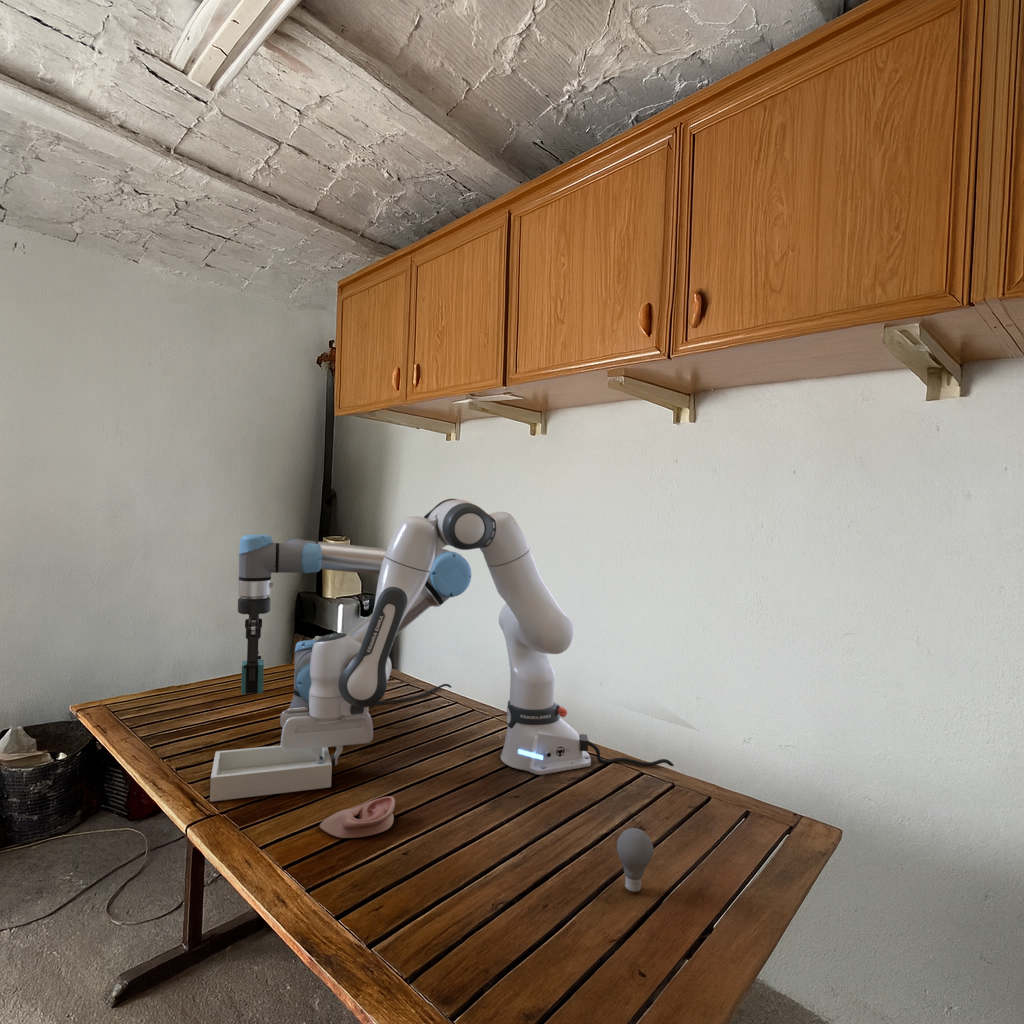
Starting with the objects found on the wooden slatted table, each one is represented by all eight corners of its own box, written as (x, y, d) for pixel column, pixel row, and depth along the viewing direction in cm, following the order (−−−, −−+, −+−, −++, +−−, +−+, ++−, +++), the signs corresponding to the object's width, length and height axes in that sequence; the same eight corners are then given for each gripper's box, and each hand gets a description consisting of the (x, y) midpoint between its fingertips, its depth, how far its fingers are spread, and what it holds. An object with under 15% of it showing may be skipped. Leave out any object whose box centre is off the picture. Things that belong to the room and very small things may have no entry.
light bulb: (610, 878, 109) (613, 821, 108) (645, 878, 109) (647, 821, 109) (619, 901, 103) (622, 840, 103) (655, 900, 103) (658, 839, 103)
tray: (209, 801, 130) (210, 777, 129) (214, 773, 143) (215, 751, 142) (331, 787, 138) (332, 764, 138) (325, 761, 151) (326, 740, 151)
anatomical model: (312, 812, 119) (340, 786, 130) (311, 833, 119) (340, 805, 130) (378, 823, 116) (401, 795, 127) (377, 844, 116) (401, 814, 127)
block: (241, 688, 160) (242, 660, 159) (263, 686, 161) (263, 659, 161) (241, 694, 155) (241, 666, 155) (263, 692, 157) (263, 664, 157)
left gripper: (270, 602, 151) (268, 699, 151) (270, 591, 167) (267, 678, 168) (236, 603, 148) (233, 702, 148) (239, 591, 165) (237, 680, 165)
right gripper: (280, 713, 138) (278, 776, 138) (375, 705, 145) (373, 765, 145) (280, 704, 143) (277, 764, 144) (371, 697, 151) (369, 754, 151)
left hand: (251, 689), depth 158 cm, fingers closed on block, 5 cm apart
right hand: (326, 765), depth 145 cm, fingers closed
